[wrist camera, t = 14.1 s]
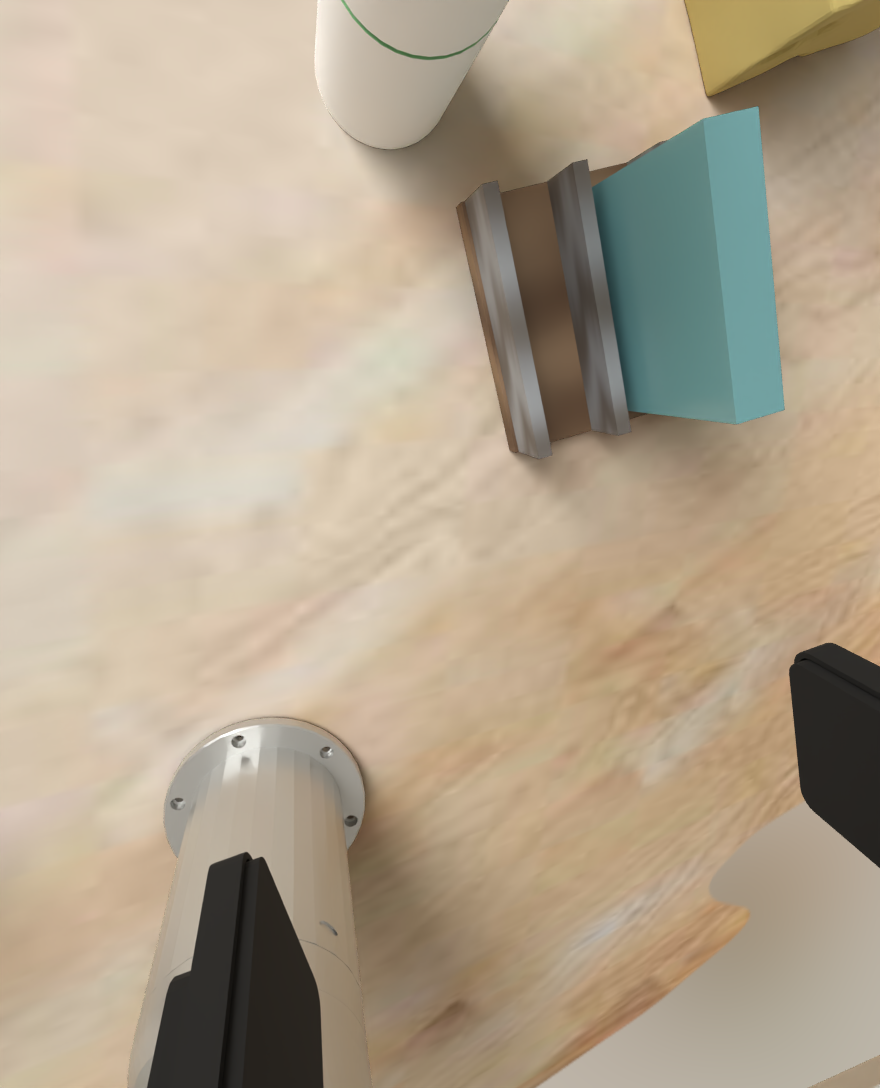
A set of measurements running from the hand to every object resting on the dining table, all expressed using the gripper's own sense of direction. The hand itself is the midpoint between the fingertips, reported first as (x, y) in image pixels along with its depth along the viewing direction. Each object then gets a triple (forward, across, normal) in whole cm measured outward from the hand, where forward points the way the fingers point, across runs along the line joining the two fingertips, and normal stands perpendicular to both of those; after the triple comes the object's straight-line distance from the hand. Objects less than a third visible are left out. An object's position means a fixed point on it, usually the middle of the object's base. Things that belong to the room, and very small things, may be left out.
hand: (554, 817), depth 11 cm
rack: (+30, -17, -7) cm, 35 cm away
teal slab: (+29, -17, -7) cm, 34 cm away
